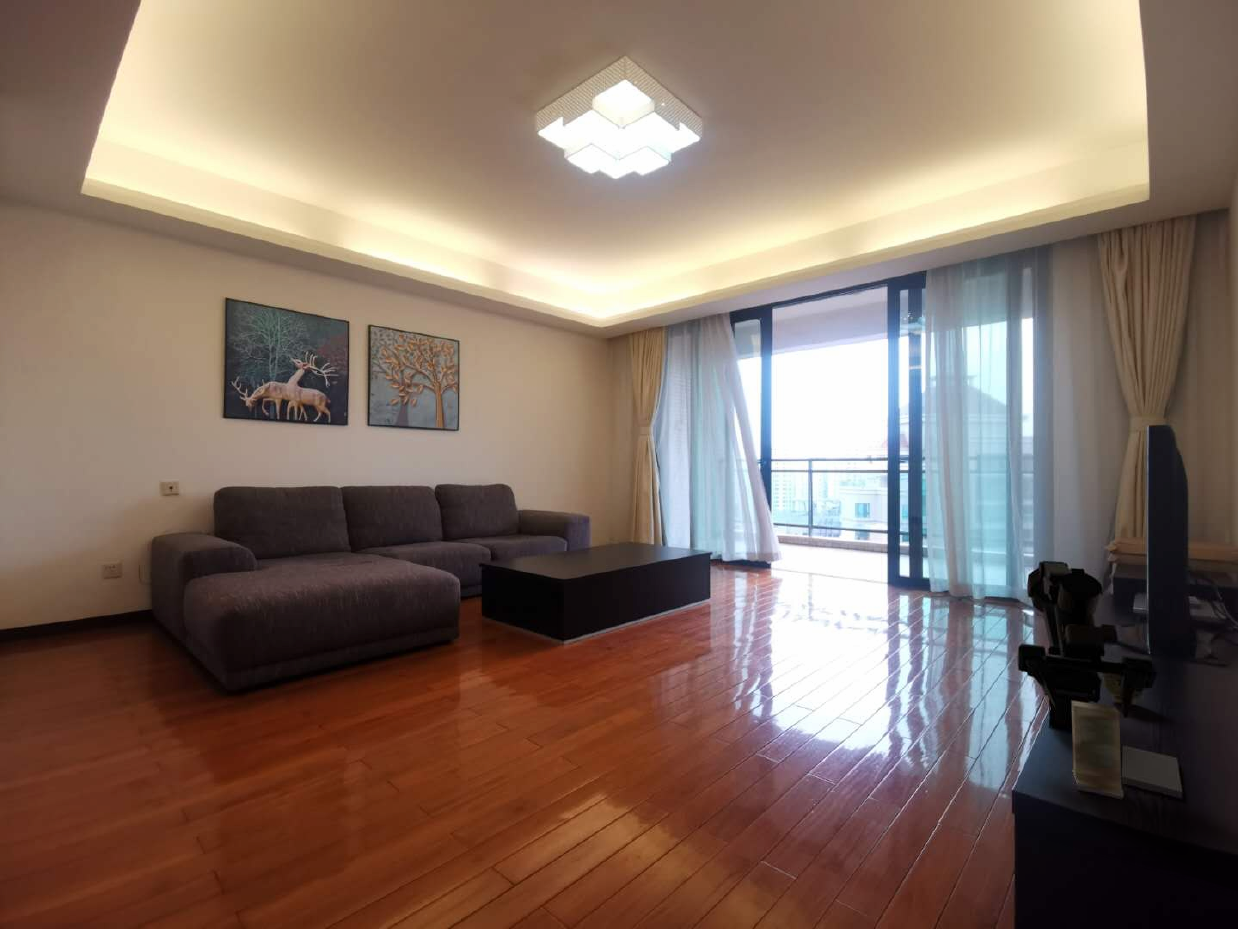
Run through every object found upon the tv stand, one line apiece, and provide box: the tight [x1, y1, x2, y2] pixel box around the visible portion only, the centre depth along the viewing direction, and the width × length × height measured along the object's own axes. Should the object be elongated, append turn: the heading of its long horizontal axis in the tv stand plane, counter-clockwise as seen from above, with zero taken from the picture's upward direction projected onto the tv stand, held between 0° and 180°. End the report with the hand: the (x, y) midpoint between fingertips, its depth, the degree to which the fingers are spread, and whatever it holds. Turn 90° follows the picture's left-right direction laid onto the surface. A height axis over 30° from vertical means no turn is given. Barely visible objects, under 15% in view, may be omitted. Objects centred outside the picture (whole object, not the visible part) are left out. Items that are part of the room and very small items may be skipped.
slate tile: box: [1121, 745, 1183, 796], centre depth 95 cm, size 7×14×1 cm, turn 138°
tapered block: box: [1071, 701, 1125, 797], centre depth 92 cm, size 6×5×13 cm
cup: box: [1101, 661, 1145, 707], centre depth 124 cm, size 8×7×8 cm
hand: (1090, 711), depth 95 cm, fingers open, 9 cm apart
